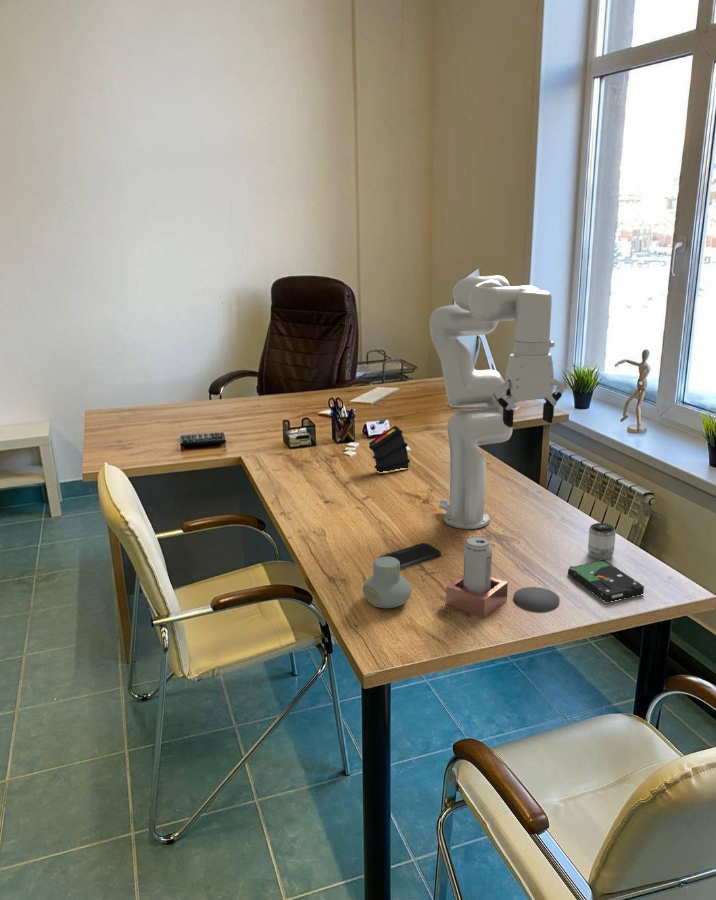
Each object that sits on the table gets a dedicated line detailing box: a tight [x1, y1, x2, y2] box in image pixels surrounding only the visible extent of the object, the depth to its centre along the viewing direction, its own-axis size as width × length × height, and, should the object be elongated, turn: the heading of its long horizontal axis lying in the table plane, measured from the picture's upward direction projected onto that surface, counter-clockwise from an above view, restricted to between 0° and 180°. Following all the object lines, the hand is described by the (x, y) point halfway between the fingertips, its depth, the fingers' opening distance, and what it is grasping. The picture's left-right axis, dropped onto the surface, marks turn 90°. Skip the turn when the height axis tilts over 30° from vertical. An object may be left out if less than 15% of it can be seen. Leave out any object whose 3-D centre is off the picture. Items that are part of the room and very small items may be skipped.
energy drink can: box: [463, 535, 493, 596], centre depth 169 cm, size 6×6×15 cm
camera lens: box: [587, 522, 617, 561], centre depth 190 cm, size 6×6×8 cm
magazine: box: [368, 425, 411, 472], centre depth 252 cm, size 4×13×15 cm, turn 115°
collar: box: [445, 573, 509, 619], centre depth 170 cm, size 10×10×4 cm
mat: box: [513, 586, 561, 612], centre depth 171 cm, size 10×10×1 cm
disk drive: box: [567, 559, 645, 603], centre depth 177 cm, size 10×3×15 cm
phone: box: [378, 542, 442, 571], centre depth 193 cm, size 8×1×15 cm
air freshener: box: [362, 556, 412, 609], centre depth 171 cm, size 11×8×10 cm
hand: (527, 423), depth 172 cm, fingers open, 9 cm apart
